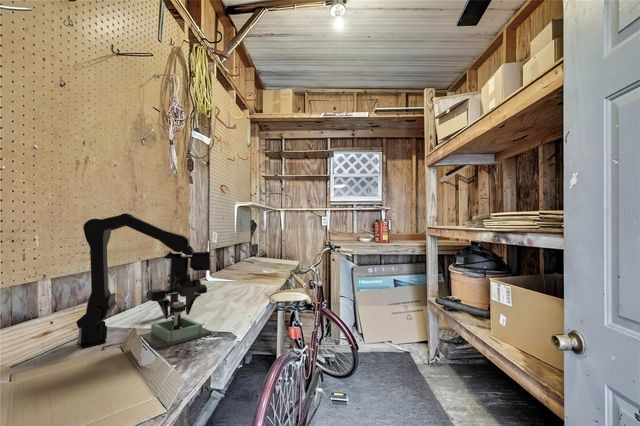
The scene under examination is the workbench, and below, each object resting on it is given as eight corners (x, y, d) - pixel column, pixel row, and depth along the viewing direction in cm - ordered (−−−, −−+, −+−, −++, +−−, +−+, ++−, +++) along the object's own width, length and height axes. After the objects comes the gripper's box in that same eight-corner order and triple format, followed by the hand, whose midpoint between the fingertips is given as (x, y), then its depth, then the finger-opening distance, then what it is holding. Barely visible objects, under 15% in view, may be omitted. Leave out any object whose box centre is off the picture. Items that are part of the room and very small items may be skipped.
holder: (168, 342, 95) (168, 332, 95) (150, 332, 104) (151, 323, 104) (202, 333, 104) (202, 324, 104) (183, 325, 112) (184, 316, 113)
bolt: (182, 314, 129) (183, 279, 130) (170, 316, 126) (171, 280, 127) (176, 311, 133) (178, 277, 134) (164, 313, 130) (166, 278, 131)
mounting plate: (157, 349, 92) (157, 345, 92) (139, 337, 101) (140, 334, 101) (211, 334, 106) (211, 331, 106) (191, 325, 115) (191, 322, 115)
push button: (180, 336, 101) (182, 306, 101) (163, 336, 100) (165, 305, 101) (187, 329, 107) (188, 301, 108) (171, 329, 107) (173, 301, 107)
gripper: (160, 276, 93) (158, 328, 92) (215, 271, 107) (214, 315, 106) (146, 273, 100) (144, 320, 99) (200, 268, 114) (198, 310, 113)
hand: (177, 316), depth 104 cm, fingers open, 7 cm apart
